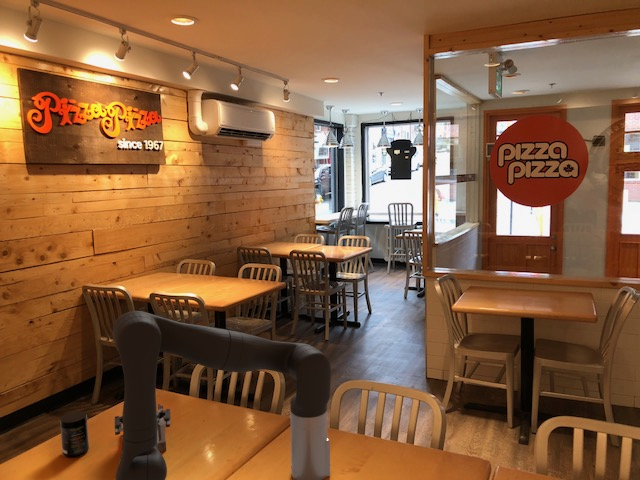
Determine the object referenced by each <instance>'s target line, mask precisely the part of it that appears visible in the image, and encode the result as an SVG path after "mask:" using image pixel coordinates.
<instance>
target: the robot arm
mask: <svg viewBox="0 0 640 480" xmlns="http://www.w3.org/2000/svg"><path fill="white" fill-rule="evenodd" d="M112 338H113V339H112V340H113V342H114V346H115V349H116V351H117V352H118V354H119V359H120V362H121V367H122V371H123V380H124V395H123V396H124V398H123V407H122V415H121V416H120V415H116V416H114V434H115V436H118V435H120V434H121V432H122V442H123V450H122V449H121V455H120V459H119V463H118V466H117V469H116V473H115V480H166V478H167V475H168V467H167V463H166V460H165V457H164V456H163V454H162V453H161V451H159V450H158V440H159V437H158V427H159V426H160V425H165V428H170V427H171V408H167V409H164V405H161V403H159V404H157V396H156V395H157V394H156V393H157V392H156V391H157V390H156V389H157V388H156V387H157V386H156V385H157V383H156V382H157V373H158V372H157V370H158V364H159V357H160V353H167V354H171V355H175V356H178V357H181V358H184V359H186V360H188V361H189V362H193V363H195V364H197V365H200V366H203V367H205V368H208V369H212V370H216V371H223V372H229V373H249V372H255V371H262V370H263V371H265V370H266V371H272V372H276V373H280V374H284V375H287V376H290V377H291V378H292V379H294V380H295V381H296V389H295V391H296V393H295V394H294V395H293V396H292V397H291V399H290V403H289V405H290V406H289V407H290V408H289V410H290V411H289V414H290V417H289V418H290V468H291V473H290V475H291V477H292V478H293V479H294V480H324V479H326V478H327V477H331V440H330V439H329V438H328V403H329V401H330V397H331V381H332V379H331V378H332V377H331V376H332V369H331V363H330V359H329V358H328V356H327V355H326V353H323V352H322V351H321V350H319V349H317V348H316V347H315V346H313V345H312V344H307V343H304V342H289V341H287V342H286V341H277V340H271V339H267V338H264V337H261V336H256V335H254V334H250V333H249V334H248V333H245V332H241V331H235V330H230V329H225V328H218V327H211V326H205V325H199V324H192V323H187V322H186V323H185V322H180V321H175V320H172V319H168V318H165V317H162V316H159V315H157V314H156V315H155V314H152V313H149V312H146V311H142V310H132V311H128V312H125V313H123V314H121V315H120V316H118V318H117V319H116V320H115V321H114V323H113V325H112Z"/></svg>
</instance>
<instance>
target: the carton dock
mask: <svg viewBox="0 0 640 480" xmlns="http://www.w3.org/2000/svg"><path fill="white" fill-rule="evenodd" d="M158 437H159V440H158V450H159V452H164V451H167V439H166V427H165V425H160V426H159V427H158ZM121 445H122V446H121V451H122V450H123V441H122V444H121Z"/></svg>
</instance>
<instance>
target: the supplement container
mask: <svg viewBox="0 0 640 480" xmlns="http://www.w3.org/2000/svg"><path fill="white" fill-rule="evenodd" d="M59 423H60V424H59V425H60V426H59V427H60V434H61V450H62V455H63V456H64V457H66V458H67V459H75V458H79V457H82V456H83V455H85V454H87V452H89V449H90V443H89V429H88V428H89V427H88V414H87V412H85V411H83V410H82V411H81V410H78V411H71V412H68V413H65V414H63V415H62V416H60V418H59Z"/></svg>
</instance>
